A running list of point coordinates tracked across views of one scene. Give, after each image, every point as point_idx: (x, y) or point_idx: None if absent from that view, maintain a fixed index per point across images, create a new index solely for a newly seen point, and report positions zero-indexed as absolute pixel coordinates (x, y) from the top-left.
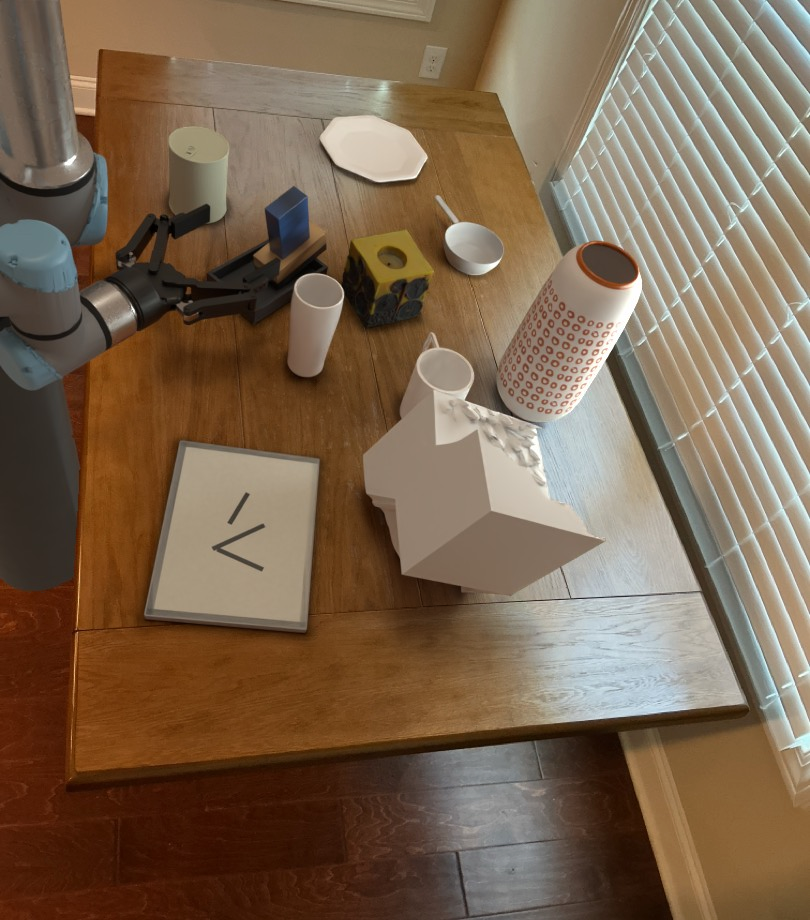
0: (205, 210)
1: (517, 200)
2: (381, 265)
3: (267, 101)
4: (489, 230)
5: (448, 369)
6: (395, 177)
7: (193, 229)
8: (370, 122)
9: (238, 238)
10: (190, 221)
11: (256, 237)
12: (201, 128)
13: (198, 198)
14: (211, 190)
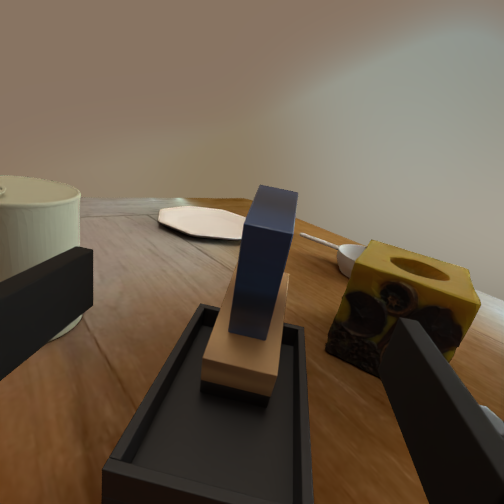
0: (78, 264)
1: (327, 234)
2: (432, 280)
3: (86, 210)
4: (361, 246)
5: None
6: None
7: (39, 345)
8: (190, 209)
9: (125, 343)
10: (22, 313)
11: (155, 330)
12: (12, 177)
13: None
14: None
